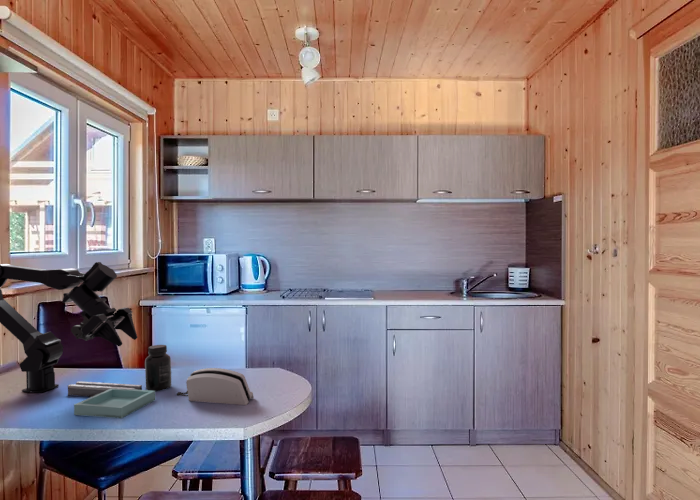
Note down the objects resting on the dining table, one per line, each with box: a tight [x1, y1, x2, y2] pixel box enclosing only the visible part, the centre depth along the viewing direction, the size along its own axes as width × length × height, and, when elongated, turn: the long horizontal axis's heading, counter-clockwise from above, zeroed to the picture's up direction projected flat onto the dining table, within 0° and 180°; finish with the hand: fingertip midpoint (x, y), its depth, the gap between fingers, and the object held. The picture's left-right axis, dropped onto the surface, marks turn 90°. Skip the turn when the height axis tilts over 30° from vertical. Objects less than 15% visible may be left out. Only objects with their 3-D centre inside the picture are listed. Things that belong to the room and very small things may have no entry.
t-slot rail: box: [67, 381, 143, 398], centre depth 127 cm, size 20×4×3 cm, turn 78°
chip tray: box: [73, 389, 156, 419], centre depth 117 cm, size 13×13×2 cm
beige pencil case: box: [185, 367, 254, 406], centre depth 120 cm, size 17×5×10 cm, turn 77°
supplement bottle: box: [144, 344, 172, 392], centre depth 132 cm, size 7×7×12 cm
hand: (128, 341), depth 132 cm, fingers open, 9 cm apart
